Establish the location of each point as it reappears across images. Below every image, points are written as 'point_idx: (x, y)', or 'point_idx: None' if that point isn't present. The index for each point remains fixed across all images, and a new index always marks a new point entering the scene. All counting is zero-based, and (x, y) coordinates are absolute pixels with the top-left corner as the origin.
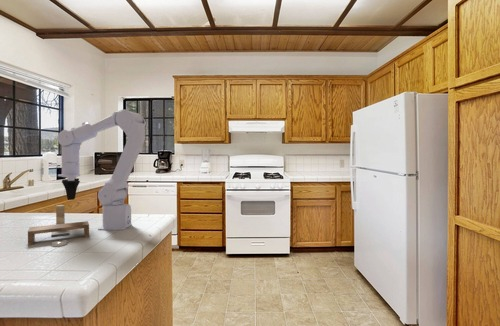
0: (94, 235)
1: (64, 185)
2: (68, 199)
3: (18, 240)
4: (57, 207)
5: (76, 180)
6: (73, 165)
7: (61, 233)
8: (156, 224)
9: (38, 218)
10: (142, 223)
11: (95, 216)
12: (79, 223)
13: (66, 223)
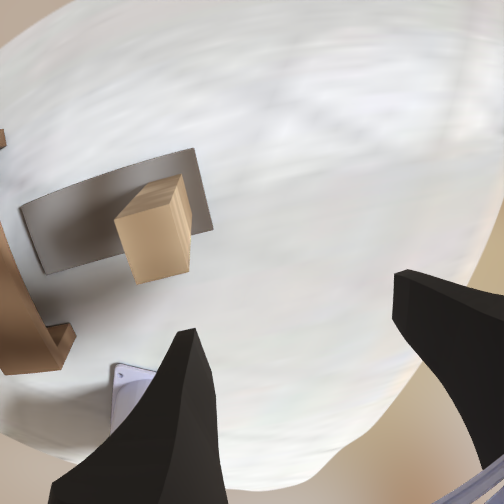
0: None
1: (84, 467)
2: (174, 339)
3: (21, 76)
4: (121, 227)
5: (487, 450)
6: None
7: (39, 244)
8: None
9: (476, 55)
10: None
11: None
12: (17, 343)
13: (15, 289)
